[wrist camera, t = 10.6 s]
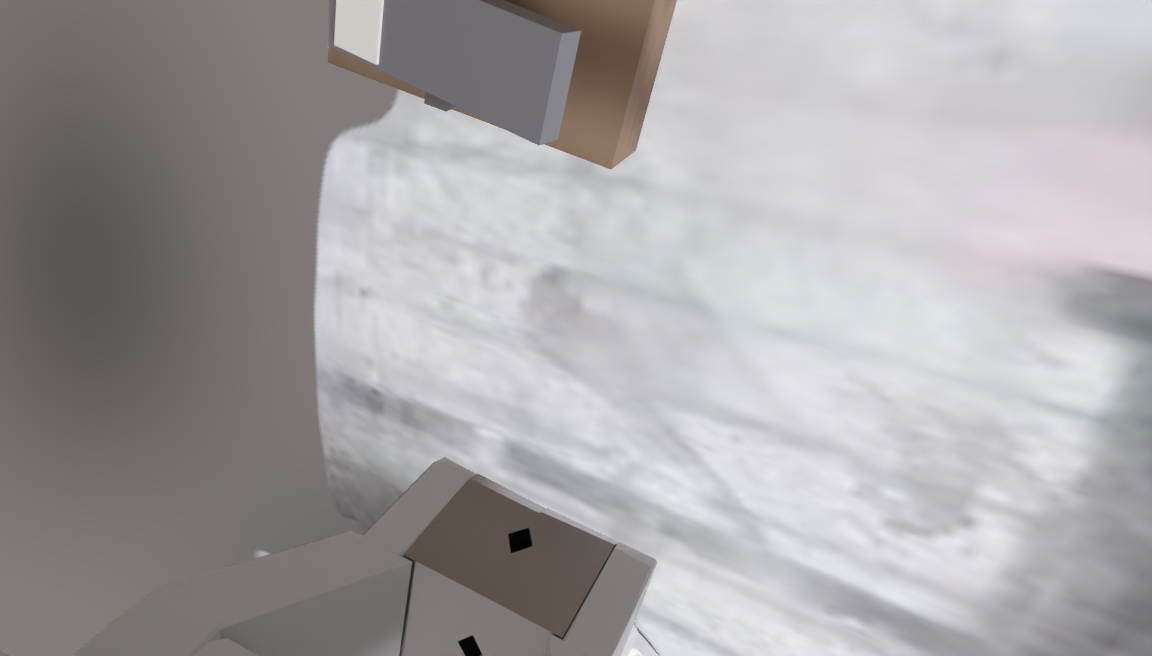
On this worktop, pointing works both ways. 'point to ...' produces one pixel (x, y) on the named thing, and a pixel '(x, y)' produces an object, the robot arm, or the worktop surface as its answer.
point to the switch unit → (587, 73)
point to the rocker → (467, 56)
